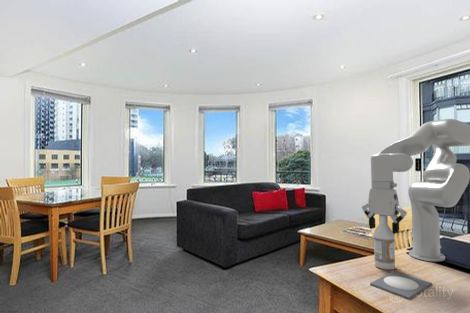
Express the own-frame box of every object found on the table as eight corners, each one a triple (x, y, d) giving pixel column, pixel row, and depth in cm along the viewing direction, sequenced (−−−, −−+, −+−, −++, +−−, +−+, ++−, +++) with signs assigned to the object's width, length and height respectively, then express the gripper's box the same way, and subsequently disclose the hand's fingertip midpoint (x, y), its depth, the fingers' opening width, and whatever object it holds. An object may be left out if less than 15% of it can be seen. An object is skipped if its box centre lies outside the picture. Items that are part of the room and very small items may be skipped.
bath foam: (389, 271, 102) (387, 217, 103) (371, 266, 108) (369, 214, 108) (398, 267, 106) (397, 215, 106) (380, 262, 112) (379, 212, 112)
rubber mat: (394, 272, 101) (394, 270, 101) (431, 284, 91) (431, 282, 92) (370, 284, 92) (370, 282, 92) (408, 299, 83) (408, 297, 83)
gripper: (411, 186, 102) (412, 233, 102) (366, 183, 117) (367, 224, 117) (401, 188, 98) (402, 237, 98) (356, 184, 113) (357, 227, 112)
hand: (383, 230), depth 107 cm, fingers open, 8 cm apart
